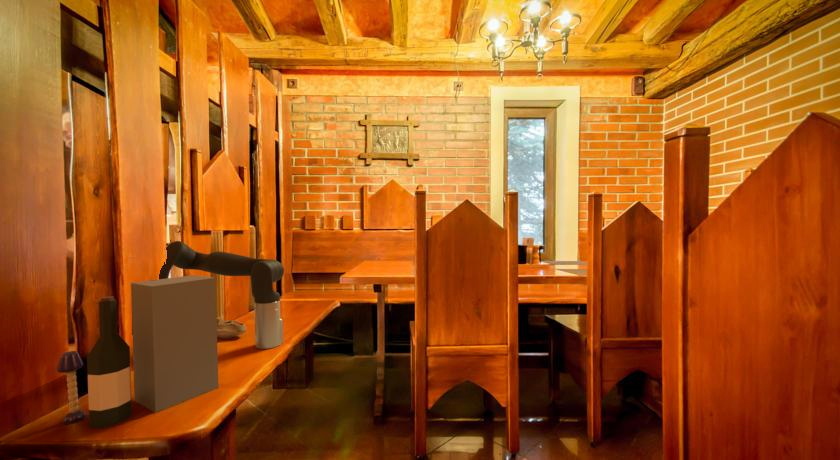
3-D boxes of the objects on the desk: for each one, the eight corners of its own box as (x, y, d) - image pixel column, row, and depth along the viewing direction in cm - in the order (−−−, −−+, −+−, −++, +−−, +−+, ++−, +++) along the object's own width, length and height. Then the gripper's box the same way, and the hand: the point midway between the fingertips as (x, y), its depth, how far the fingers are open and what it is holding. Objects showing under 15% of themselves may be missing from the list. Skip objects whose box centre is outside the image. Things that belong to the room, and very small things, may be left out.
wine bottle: (96, 432, 84) (91, 302, 83) (83, 422, 88) (78, 298, 88) (139, 415, 91) (135, 295, 90) (124, 407, 95) (121, 292, 95)
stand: (196, 379, 112) (193, 275, 112) (218, 387, 106) (215, 277, 105) (134, 401, 99) (130, 283, 98) (155, 412, 92) (151, 286, 92)
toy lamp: (69, 426, 87) (66, 356, 86) (53, 424, 88) (51, 355, 87) (90, 415, 91) (88, 349, 91) (76, 414, 92) (73, 348, 92)
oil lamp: (240, 341, 149) (240, 321, 149) (204, 341, 150) (204, 321, 149) (254, 332, 160) (253, 314, 160) (220, 333, 161) (220, 314, 160)
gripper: (123, 305, 124) (141, 284, 117) (170, 297, 136) (189, 278, 129) (129, 325, 122) (147, 305, 115) (175, 315, 134) (195, 297, 127)
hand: (169, 291), depth 122 cm, fingers open, 8 cm apart
